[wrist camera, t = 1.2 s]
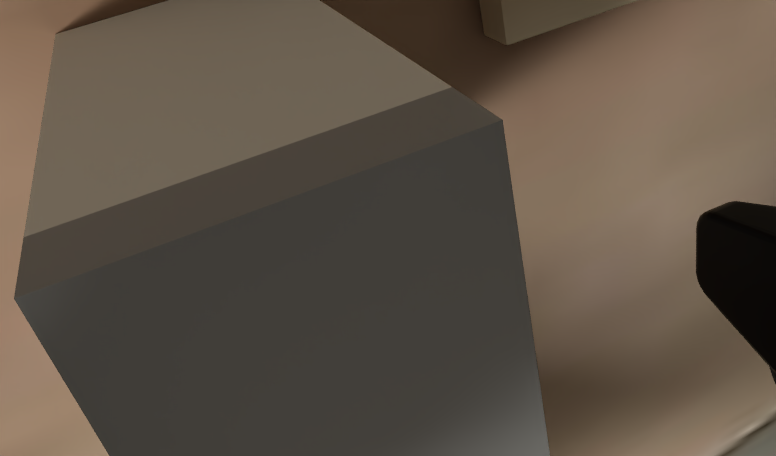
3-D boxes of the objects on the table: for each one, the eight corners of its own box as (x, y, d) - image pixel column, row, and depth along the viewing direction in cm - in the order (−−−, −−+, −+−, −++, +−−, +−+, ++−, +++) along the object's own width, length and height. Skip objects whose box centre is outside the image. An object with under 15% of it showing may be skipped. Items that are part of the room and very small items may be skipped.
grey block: (337, 198, 16) (555, 502, 9) (161, 264, 15) (233, 660, 8) (271, -31, 14) (502, 119, 6) (55, 33, 13) (14, 298, 5)
